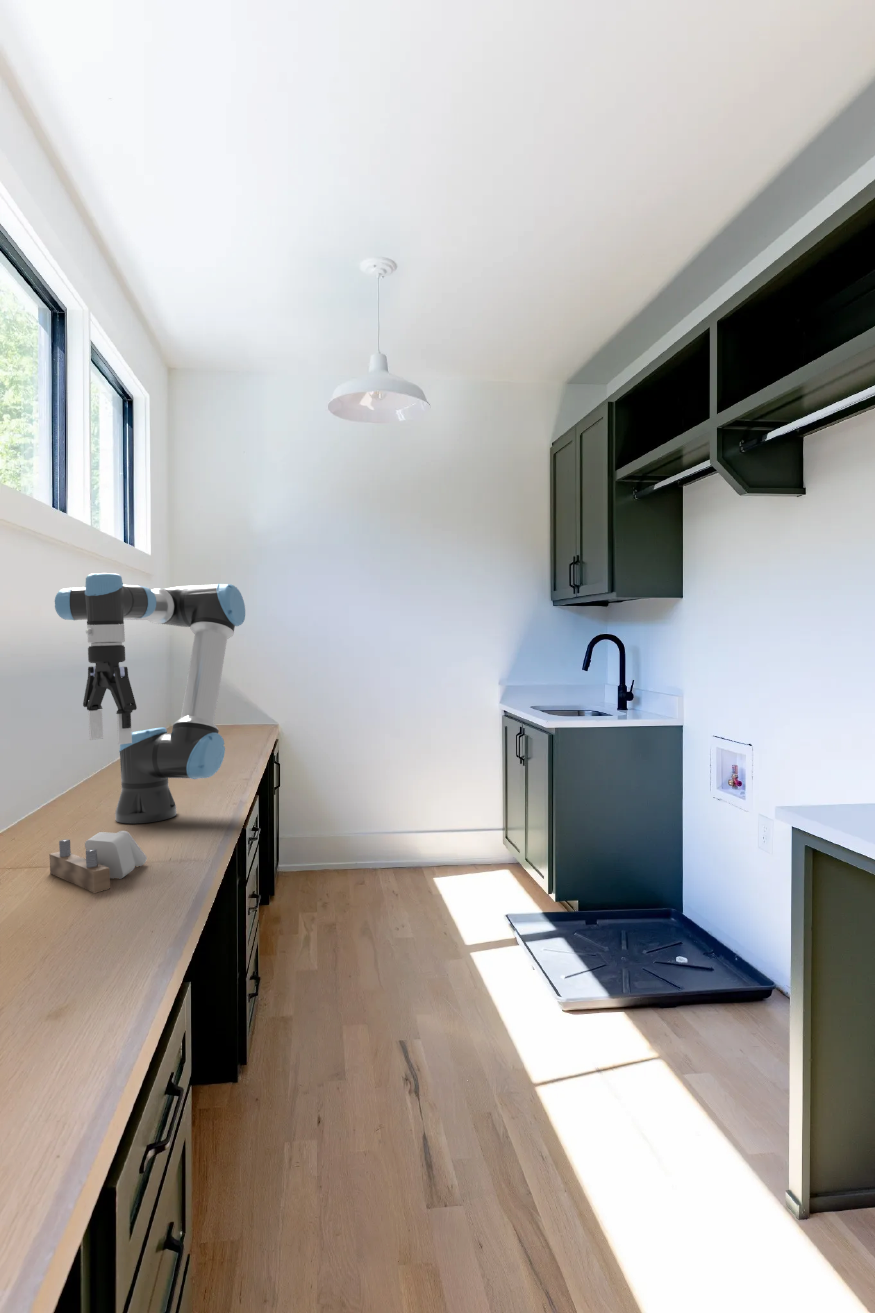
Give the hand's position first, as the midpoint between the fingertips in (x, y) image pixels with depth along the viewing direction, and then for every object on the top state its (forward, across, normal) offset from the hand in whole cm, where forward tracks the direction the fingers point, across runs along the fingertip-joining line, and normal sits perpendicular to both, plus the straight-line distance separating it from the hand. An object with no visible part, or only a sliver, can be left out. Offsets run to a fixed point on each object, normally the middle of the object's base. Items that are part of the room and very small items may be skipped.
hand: (110, 741), depth 178 cm
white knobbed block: (+25, +15, -6) cm, 30 cm away
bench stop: (+25, +14, -14) cm, 32 cm away
